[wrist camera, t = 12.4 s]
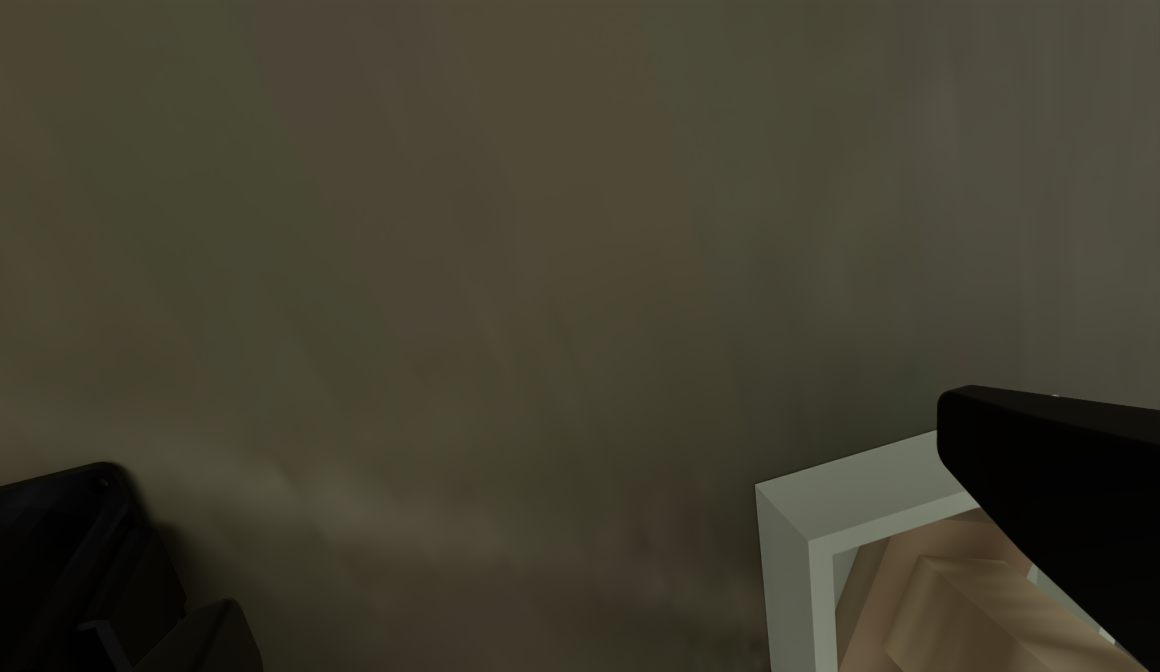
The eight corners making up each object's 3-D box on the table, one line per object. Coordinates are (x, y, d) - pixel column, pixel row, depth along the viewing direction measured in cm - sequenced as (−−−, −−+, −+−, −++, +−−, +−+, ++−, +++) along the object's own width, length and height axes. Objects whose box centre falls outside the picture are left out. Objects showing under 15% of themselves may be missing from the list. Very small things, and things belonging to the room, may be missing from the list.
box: (777, 742, 30) (825, 820, 27) (754, 484, 26) (807, 541, 23) (1034, 646, 33) (1106, 708, 29) (1055, 394, 28) (1141, 434, 25)
